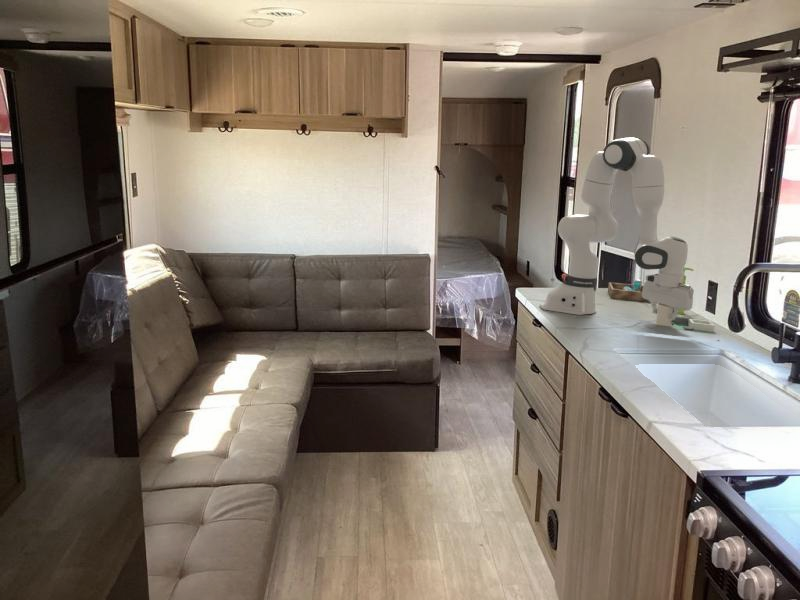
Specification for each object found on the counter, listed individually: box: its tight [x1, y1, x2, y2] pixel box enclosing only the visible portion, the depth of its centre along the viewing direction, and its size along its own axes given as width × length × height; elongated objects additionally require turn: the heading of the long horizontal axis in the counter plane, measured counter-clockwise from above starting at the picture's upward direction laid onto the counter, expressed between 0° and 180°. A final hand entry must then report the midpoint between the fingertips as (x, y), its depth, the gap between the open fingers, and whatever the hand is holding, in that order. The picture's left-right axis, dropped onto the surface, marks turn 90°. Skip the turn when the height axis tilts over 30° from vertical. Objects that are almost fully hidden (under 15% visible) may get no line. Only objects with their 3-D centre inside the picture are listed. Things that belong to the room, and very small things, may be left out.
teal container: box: [623, 278, 643, 292], centre depth 297 cm, size 12×12×8 cm
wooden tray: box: [607, 282, 651, 303], centre depth 297 cm, size 17×17×4 cm
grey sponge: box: [670, 314, 691, 326], centre depth 248 cm, size 7×8×3 cm
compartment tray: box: [671, 318, 716, 335], centre depth 244 cm, size 14×15×4 cm
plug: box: [654, 303, 674, 327], centre depth 244 cm, size 6×4×8 cm
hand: (663, 316), depth 244 cm, fingers closed on plug, 6 cm apart
